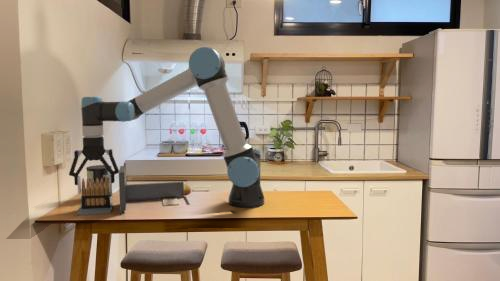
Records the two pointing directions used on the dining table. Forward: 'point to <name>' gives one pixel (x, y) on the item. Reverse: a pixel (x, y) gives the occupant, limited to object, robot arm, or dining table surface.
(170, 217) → the dining table surface
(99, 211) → the mat
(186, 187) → the fruit
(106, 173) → the coffee can
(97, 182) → the ammunition clip
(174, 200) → the offcut upper
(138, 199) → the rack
